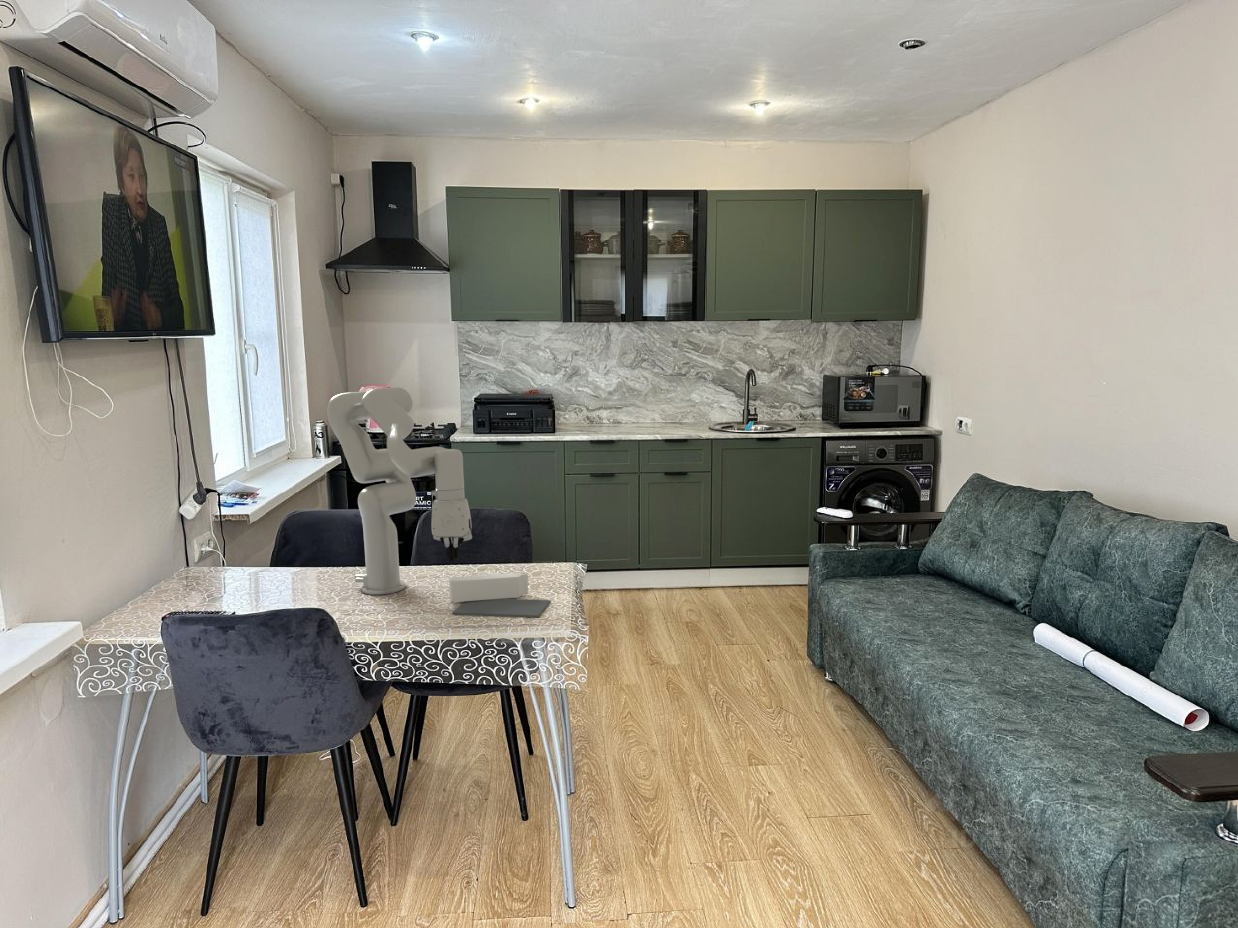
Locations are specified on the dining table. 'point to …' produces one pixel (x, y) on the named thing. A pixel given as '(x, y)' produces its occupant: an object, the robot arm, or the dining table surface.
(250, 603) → the dining table surface
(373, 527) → the robot arm
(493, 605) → the mat
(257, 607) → the dining table surface
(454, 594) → the milk
